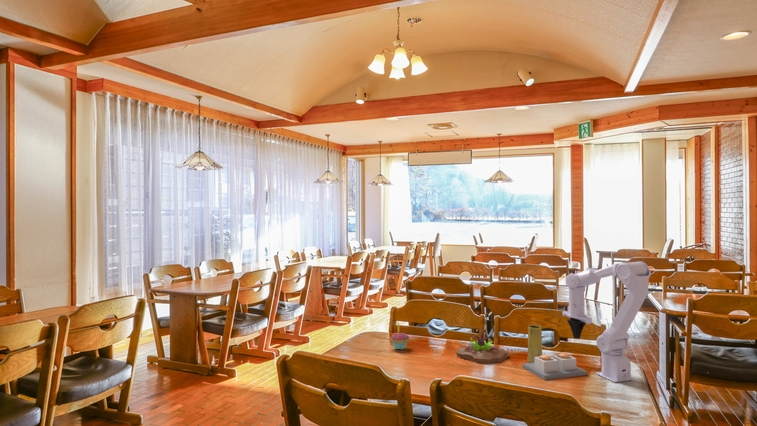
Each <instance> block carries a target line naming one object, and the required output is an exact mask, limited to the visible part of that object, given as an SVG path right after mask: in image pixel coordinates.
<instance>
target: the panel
mask: <svg viewBox="0 0 757 426" xmlns="http://www.w3.org/2000/svg"><path fill="white" fill-rule="evenodd" d="M521 367H522V369H524V370H526V371H528V372H530V373H532V374H533V375H535V376H536V377H539V378H540V379H542V380H544V381H546V380H556V379H564V378H572V377H580V376H582V377H583V376H587V370H585V369H583V368H581V367H579V366H577V358H576V357H574V356H571V355H570V357H569V359H562V358H560V357H559V354H554V355H552V356H551V360H550V361H543V360H542V359H541V356H540V357H534V363H529V362H526V363H522V366H521Z"/></svg>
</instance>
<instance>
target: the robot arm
mask: <svg viewBox="0 0 757 426" xmlns="http://www.w3.org/2000/svg"><path fill="white" fill-rule="evenodd" d="M576 272H577V273H569V274H568V275H566V276H565V280H564V281H565V285H566V287H567V288H568V311H567V310H566V311H565V310H564V311H562V317H566V318H569V319H567V320H566V321H567V323H568V325H569V326H570V329H571V333H572V336H573V338H574V339H580V338H581V335H582V332H583V329H584V327H585V325H586V324H587V325H589V324H590V325H591V324H592V322H593V321H592V318H590V317H589V316H587V314H585V291H586V288H587V286H592V285H594V284H598V283H600V281H601V280H602V279H603V278H608V277H611V276H615V277H618V278H619V280H620V282H621V283H622V284H623V285H624V287H625V288H626V289H627V290H628V291H627V294H626V296H625V298H624V300H623V302H622V304H621V305H620V307H619V310H618V312H617V313H616V315H615V317H614V318H613V321H612V323H611V325H610V326H609V327H608V328H606V329H604V330H603V332H602V333H601V334H600V335H598V336H597V339H596V346H597V348H598V349H599V351H600V353H601V355H600V356H601V357H600V358H601V371H597V372H595V374H596V375H598V376H600V377H603V378H605V379H607V380H609V381H611V382H612V383H613V382H614V383H619V382H628V381H633V380H634V379H633V378H632V376H631V375H632V374H631V371H632V369H631V361H630V359H629V358H628V357H626V356H625V354H624V353H625V350H626V349H627V347H628V344H629V342H628V341H629V338H630V334H629V333H628V331H629V329H630V328H631V325H632V324H633V322H634V320H635V319H636V317H637V314H638V313H639V311H640V309H641V307H642V305H643V304H644V301H645V299H646V298H647V296H648V294H649V279H650V277H651V275H652V272H651V270H650V268H649V266H648V264H647V263H645V262H644V261H643V260H642V261H632V262H631V261H630V262H624V261H623V262H621V263H614V264H611V265H608V266H605V267H603V268H600V269H596V268H592V267H587V268H586V269H585V270H583V271H581V270H578V271H576Z"/></svg>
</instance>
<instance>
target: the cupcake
mask: <svg viewBox="0 0 757 426" xmlns="http://www.w3.org/2000/svg"><path fill="white" fill-rule="evenodd" d="M390 342H391V344H392V346H393V348H395V350H396V349H404V348H405V349H406V346H407V343H408V342H410V336H409V335H408V334H407V333H404V332H400V323H399V322H397V332H395V333H393V334H392V335H391V336H390ZM405 349H404V350H405Z"/></svg>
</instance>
